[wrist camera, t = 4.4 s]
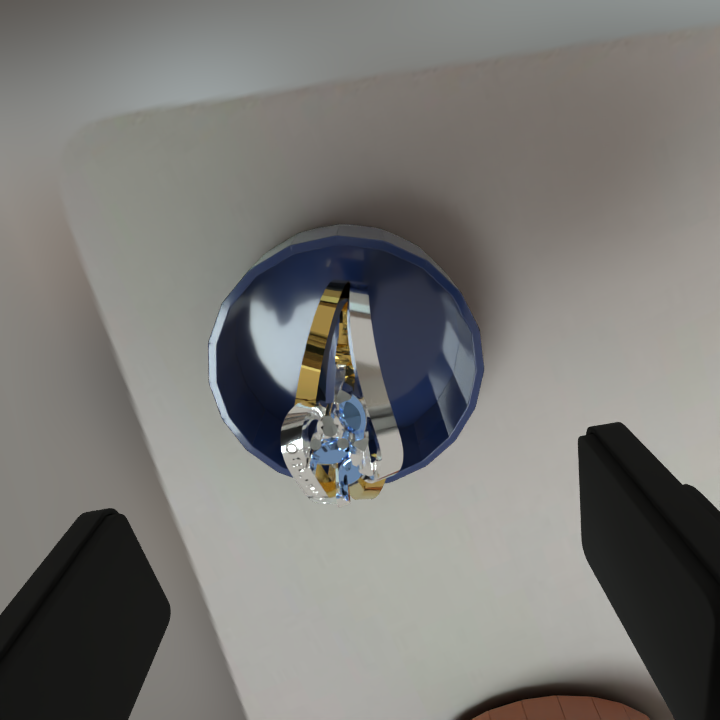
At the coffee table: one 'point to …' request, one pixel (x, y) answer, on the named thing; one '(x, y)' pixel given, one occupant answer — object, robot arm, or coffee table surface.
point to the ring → (341, 406)
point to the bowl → (563, 710)
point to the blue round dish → (293, 323)
